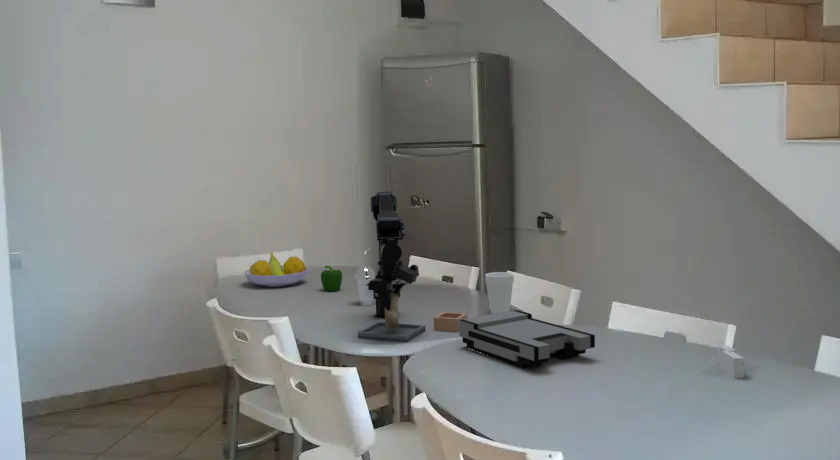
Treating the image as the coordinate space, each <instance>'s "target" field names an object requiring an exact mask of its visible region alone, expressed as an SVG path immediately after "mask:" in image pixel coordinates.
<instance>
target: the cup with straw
mask: <svg viewBox="0 0 840 460" xmlns="http://www.w3.org/2000/svg"><path fill="white" fill-rule="evenodd" d="M369 250H371V247H370V246H369V247H368V248H366V249H365V251H364V253H363V263H364V265H362V266H360V267H359V268H358V269H357V270H356V271H355V274H354V275H353V279H354V280H355V281H356V282H355V283H356V286H357V291H358V292H357V293H358V300H359V304H360V305H361V306H371V305H372V306H373V304H374V298H373V290H368V283H369V282H370V281H371V280H373V279H375V274H376V273H375V270H374V269H373V268H372V267H371V266H368V265H367V252H368V251H369Z"/></svg>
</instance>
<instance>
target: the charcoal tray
mask: <svg viewBox="0 0 840 460" xmlns="http://www.w3.org/2000/svg"><path fill="white" fill-rule="evenodd" d="M425 332H426V325H425V324H424V325H423V324H411V323H400V322H399V327H398V328H393V329H389V328H386V327H385V322H383V321H377V322H375V323H374V324H371V325H369V326H367V327H365V328H363V329H362V330H359V331H358V332H357V339H361V340H362V339H365V340H374V341H375V340H376V341H377V340H378V341H386V342H400V343H408V342H410V341H411V340H413V339H415V338H417V337H418V336H420V335H421V334H423V333H425Z"/></svg>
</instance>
